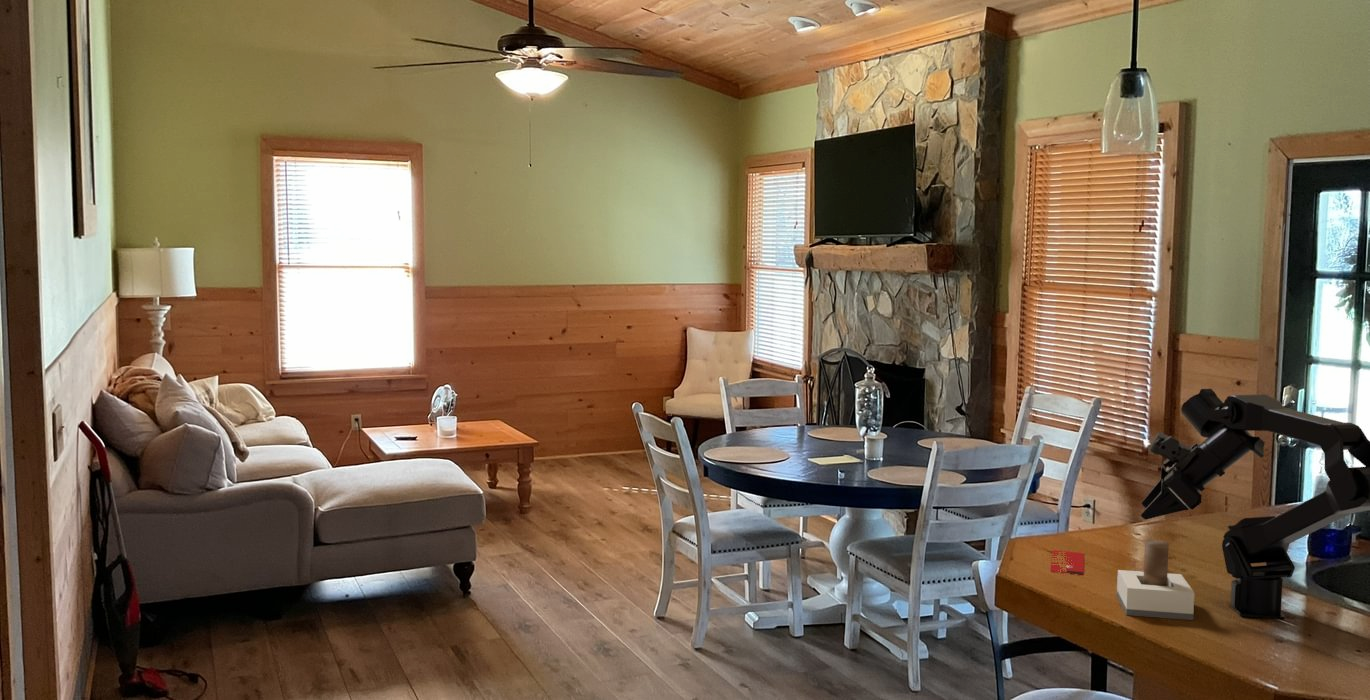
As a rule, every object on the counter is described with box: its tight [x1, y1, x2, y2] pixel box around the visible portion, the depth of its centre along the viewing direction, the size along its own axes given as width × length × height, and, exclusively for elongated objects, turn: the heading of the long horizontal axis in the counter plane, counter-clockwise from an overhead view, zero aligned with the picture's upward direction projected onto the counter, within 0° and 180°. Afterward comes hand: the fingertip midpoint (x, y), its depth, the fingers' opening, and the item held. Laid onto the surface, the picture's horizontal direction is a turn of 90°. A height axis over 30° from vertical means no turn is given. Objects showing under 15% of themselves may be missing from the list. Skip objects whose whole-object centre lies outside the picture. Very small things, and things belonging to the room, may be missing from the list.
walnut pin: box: [1143, 539, 1170, 586], centre depth 177 cm, size 4×4×10 cm
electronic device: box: [1049, 549, 1085, 576], centre depth 203 cm, size 6×1×15 cm
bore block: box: [1116, 569, 1195, 621], centre depth 177 cm, size 10×10×4 cm
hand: (1142, 511), depth 187 cm, fingers open, 9 cm apart
